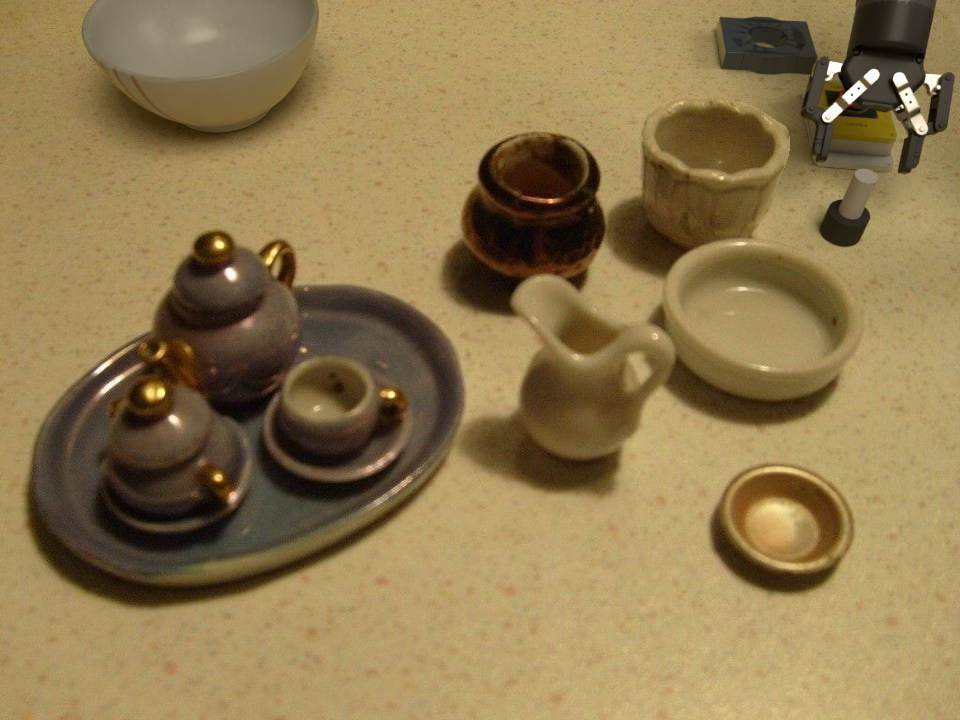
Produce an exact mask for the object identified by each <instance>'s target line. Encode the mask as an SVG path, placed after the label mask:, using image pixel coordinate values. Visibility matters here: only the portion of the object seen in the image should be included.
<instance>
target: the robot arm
mask: <svg viewBox="0 0 960 720" xmlns="http://www.w3.org/2000/svg"><path fill="white" fill-rule="evenodd" d="M937 1H938V0H855V10H854V14H853V19H852V25H851V31H850V35H849V39H848V40H849V41H848V46H847V51H846V55H845V58H844V60H843V62H837V61H832V60H830V58H829V57H828V56H824V55H823V56H820V57H819V58H817V60H816V62H815V63H814V64H813V66H812V69H811V73H810V74H809V76H808V77H809V78H808V81H807V85H806V89H805V90H806V92H805V96H804V100H803V104H802V103H801V108H800V112H799V113H800V116H801V118H803V119H805V118H808V119H809V120H811V121H813V122H814V123H815V125H816V130H815V135H814V140H813V145H812V150H811V149H810V152H811V151H812V153H811V157H812V156H816V162H822V163H823V162H825V161H826V160H827V158H828V153H829V148H830V143H831V138H832V133H833V128H834V125H832V121H833V120H834V119H835V118H836V117H837V116H838V115H839V114H840V113H841V112H842V111H843V110H844V109H846V108H847V107H848V106H849V105H850V104H851V103H852V104H853V105H854V106H856V107H857V108H856V109H863V110H864V109H874V110H877V111H879V112H888V111H890V112H893V113H894V116H895V118H896V119H897V121H898V122H900V123H901V125H902V127H903V130H904V131H905V134H906V135H907V137H905V138H904V139H903V142H902V147H901V152H900V156H899V157H900V158H899V162H898V167H897V174H899V175H900V174H901V175H907V174H910V173H911V172H912V170H913V169H916V168H917V167H918V165H919V164H920V160H921V155H922V150H923V145H924V141H925V139H926V137H929V136H934V135H937V134H939V133H941V132H944V131H946V130H947V129H948V126H949V119H950V111H951V107H952V106H951V105H952V100H953V99H952V98H953V92H954V87H955V79H956V77H955V74H954V73H953V72H951V71H947V72H944V73H942V74H937V73H926V70H925V68H924V62H925V59H926V53H927V48H928V45H929V40H930V34H931V29H932V25H933V20H934V15H935V12H936V7H937ZM835 75H837V77H838V79H839V82H841V83H842V85H843V87H844V89H845V92H844V93H843V94H842V95H841V96H840V97H839V98H838V99H837V100H836V101H834V102H833V103H832V104H831V105H830V106H829V107H828V108H827V109H826V110H824V109H822V108H820V107H818V106H819V102H820V98H821V94H822V90H823V87H824V83H827V82H828V81H832V79H833V77H834V76H835ZM922 86H924V87H925V89H926V91H925V93H926V95H927V96H928V97H930V101H929V108H928V116H927V121H926V120H925V118H924V117H923V115H922V113H921V111H922V110H921V106H920V104H919V102H918V100H917V98H916V97H915V95H914V93H915V92H917V91H918V90H919V89H920V87H922Z"/></svg>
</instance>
